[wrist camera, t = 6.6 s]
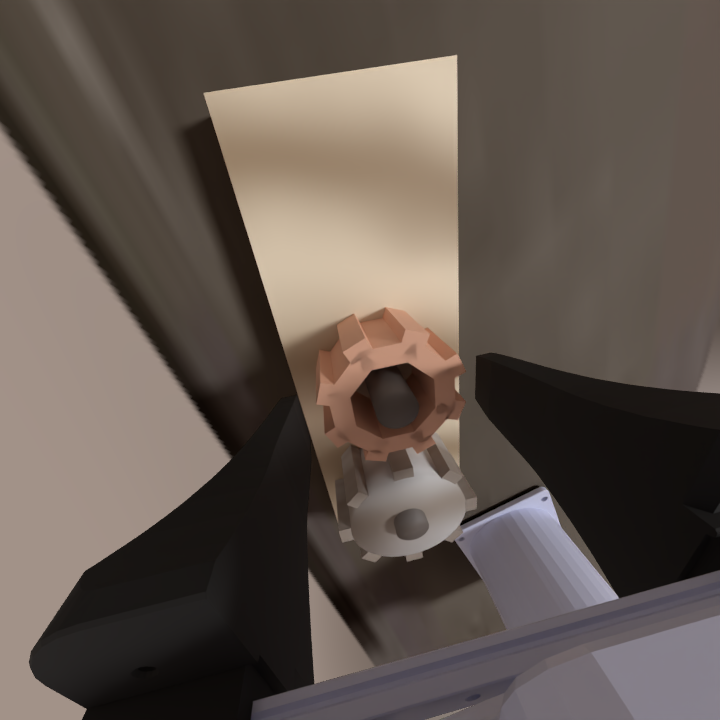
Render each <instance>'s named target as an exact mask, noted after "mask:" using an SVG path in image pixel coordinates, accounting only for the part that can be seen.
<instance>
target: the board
mask: <svg viewBox="0 0 720 720" xmlns="http://www.w3.org/2000/svg"><path fill="white" fill-rule="evenodd" d="M204 96H205V99H206V102H207V106H208V109H209V112H210V115H211V118H212V122H213V125H214V128H215V131H216V134H217V138H218V141H219V144H220V147H221V150H222V154H223V157H224V160H225V163H226V166H227V170H228V173H229V176H230V179H231V182H232V186H233V189H234V192H235V195H236V198H237V202H238V205H239V208H240V211H241V214H242V218H243V221H244V224H245V227H246V230H247V234H248V237H249V240H250V243H251V246H252V250H253V253H254V256H255V259H256V262H257V266H258V269H259V272H260V275H261V278H262V282H263V285H264V288H265V291H266V294H267V298H268V301H269V304H270V307H271V310H272V314H273V317H274V320H275V323H276V326H277V330H278V333H279V336H280V339H281V342H282V346H283V349H284V352H285V355H286V358H287V362H288V365H289V368H290V371H291V374H292V378H293V381H294V384H295V387H296V390H297V394H298V397H299V400H300V403H301V406H302V410H303V413H304V416H305V419H306V422H307V426H308V429H309V432H310V435H311V438H312V442H313V445H314V448H315V451H316V454H317V458H318V461H319V464H320V467H321V470H322V474H323V477H324V480H325V483H326V486H327V489H328V493H329V496H330V499H331V502H332V505H333V509H334V512H335V515H336V518H337V521H338V527H339V533H340V536H341V540H342V543H343V542H347V541H351V540H355V542H356V543H357V544H358V545H359V546H360V550H361V558H362V559H365V560H369V561H372V562H376V561H377V560H378V559H379V558H380V557H381V556H388V557H397V556H405V557H406V560H407V562H408V561H412V560H416V559H420V558H423V554H422V551H424V550H427V549H429V548H431V547H433V546H435V545H437V544H439V543H440V542H442V541H443V540H446V541H449V542H453V541H454V540H455V539H456V538H458V537H459V536H460V535H461V534H462V533H463V531H462V529H461V527H460V523H461V521H462V519H463V517H464V515H465V512H466V511H470V510H474V509H476V507H477V496H476V495H475V493H474V491H473V490H472V488H471V486H470V485H469V483H468V481H467V480H466V478H465V476H464V475H463V473H462V471H461V470H460V468H459V419H458V420H452V419H447V420H446V421H445V422H444V423H443V424H442V425H441V426H440V427H439V428H438V430H437V431H436V432H435V433H434V434H433V435H432V438H433V439H434V441H435V443H436V444H434V445H433V446H431V447H429V448H427V449H426V450H424V451H422V452H420V453H419V454H417V453H416V451H415V450H414V449H413V447H411V448H407V449H403V450H398V451H394V452H390V453H389V454H388V457H387V460H386V462H385V461H370V460H365V456H364V451H363V449H362V448H360V447H358V446H356V445H354V444H351V443H349V442H347V443H345V444H343V445H342V446H340V447H338V448H337V447H336V446H335V445H334V444H333V442H332V441H331V440H330V439H329V438H328V437H327V436H326V435H325V432H324V411H323V405H316V365H317V360H318V354H319V350H324V351H331V350H332V348H333V347H334V345H335V344H336V342H337V341H338V340H339V333H338V329H337V324H339V323H340V322H342V321H343V320H345V319H346V318H348V317H349V316H351V315H352V314H355V316H356V317H357V319H358V320H359V322H364V321H369V320H374V319H379V318H383V314H384V310H385V307H388V308H393V309H398V310H403V311H405V312H406V313H408V314H409V315H410V316H411V317H412V318H413V319H414V320H415V321H416V322H417V323H418V324H420V325H421V326H422V327H423V328H424V329H425V328H427V327H428V328H429V329H430V330H431V331H432V332H433V333H435V334H436V335H437V336H438V337H439V338H440V339H441V340H442V341H444V342H445V343H446V344H447V345H448V346H449V347H450V348H452V349H453V350H454V351H455V352H456V353H457V354H458V356H459V311H458V139H457V55H455V56H448V57H441V58H435V59H428V60H421V61H415V62H408V63H401V64H395V65H388V66H381V67H375V68H368V69H361V70H354V71H348V72H341V73H334V74H328V75H321V76H314V77H308V78H301V79H294V80H288V81H281V82H274V83H267V84H261V85H254V86H247V87H241V88H234V89H227V90H221V91H214V92H207V93H204ZM411 373H412V367H411V364H409V363H408V362H407V363H403V364H398V365H394V366H389V367H384V368H380V369H375V370H371V372H370V373H369V374H368V375H367V377H366V378H365V379H364V381H363V382H362V383H361V385H360V386H359V387H358V388H357V390H356V391H357V392H359V393H361V394H362V395H364V396H366V397H368V398H371V401H372V404H373V407H374V410H375V413H376V416H377V419H378V421H379V422H380V424H382V425H383V426H384V427H387V428H391V429H398V428H403V427H405V426H407V425H409V424H410V423H411V422H413V421H414V420H415V418H416V417H417V415H418V412H419V403H418V401H417V399H416V397H415V396H414V394H413V392H412V391H411V389H410V387H409V386H408V384H407V382H406V379H407V378H408V377H409V376H410V375H411ZM455 390H456V391H457V392H458V393H459V376H458V377H456V378H455Z"/></svg>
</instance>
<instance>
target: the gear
mask: <svg viewBox="0 0 720 720" xmlns="http://www.w3.org/2000/svg"><path fill="white" fill-rule="evenodd" d="M337 329H338V333H339V340H338V341H337V342H336V344H335V345H334V347H333V348H332V350H331V351H324V350H319V354H318V360H317V365H316V405H323V411H324V432H325V435H326V436H327V437H328V438H329V439H330V440H331V441H332V442H333V444H334V445H335V446H336V447H337V448H338V447H340V446H342V445H343V444H345V443H347V442H349V443H351V444H354V445H356V446H358V447H360V448H362V449H363V451H364V456H365V460H370V461H385V462H386V460H387V457H388V454H389V453H390V452H394V451H398V450H403V449H407V448H411V447H413V449H414V450H415V451H416V453H417V454H419V453H420V452H422V451H424V450H426V449H427V448H429V447H431V446H433V445H434V444H436V443H435V441H434V439H433V438H432V435H433V434H434V433H435V432H436V431H437V430H438V428H439V427H440V426H441V425H442V424H443V423H444V422H445V421H446V420H447V419H452V420H458V419H459V417H460V414H461V412H462V410H463V408H464V405H465V403H466V401H465V400H464V399H463V398H462V397H461V395H460V394H459V393H458V392H457V391H456V390H455V378H456V377H458V376H460V375H461V374H463V373H465V372H466V370H465V368H464V366H463V364H462V362H461V360H460V358H459V356H458V354H457V353H456V352H455V351H454V350H453V349H452V348H450V347H449V346H448V345H447V344H446V343H445V342H444V341H442V340H441V339H440V338H439V337H438V336H437V335H436V334H435V333H433V332H432V331H431V330H430V329H429V328H428V327H427V328H425V329H424V328H423V327H422V326H421V325H420V324H418V323H417V322H416V321H415V320H414V319H413V318H412V317H411V316H410V315H409V314H408V313H406V312H405V311H403V310H398V309H393V308H388V307H385V310H384V314H383V318H379V319H374V320H369V321H364V322H359V320H358V319H357V317H356V316H355V314H352V315H351V316H349V317H348V318H346V319H345V320H343V321H342V322H340V323H339V324H337ZM407 362H408V363H409V364H411V367H412V373H411V375H410V376H409V377H408V378H407V379H406V382H407V384H408V386H409V387H410V389H411V391H412V392H413V394H414V396H415V397H416V399H417V401H418V403H419V412H418V415H417V417H416V418H415V420H414V421H413V422H411V423H410V424H409V425H407V426H405V427H403V428H398V429H391V428H387V427H384V426H383V425H382V424H380V422H379V421H378V419H377V416H376V413H375V410H374V407H373V404H372V401H371V398H368V397H366V396H364V395H362V394H361V393H359V392H357V391H356V390H357V388H358V387H359V386H360V385H361V383H362V382H363V381H364V379H365V378H366V377H367V375H368V374H369V373H370V372H371V370H375V369H380V368H384V367H389V366H394V365H398V364H403V363H407Z"/></svg>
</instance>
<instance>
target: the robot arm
mask: <svg viewBox="0 0 720 720" xmlns="http://www.w3.org/2000/svg"><path fill="white" fill-rule="evenodd" d="M475 399H476V400H477V402H478V404H479V405H480V407H481V408H482V410H483V411H484V413H485V414H486V416H487V417H488V418H489V420H490V421H491V422H492V423H493V424H494V425H495V426H496V428H497V429H498V430H499V431H500V432H501V433H502V434H503V435H504V437H505V438H506V439H507V440H508V441H509V442H510V443H511V444H512V445H513V446H514V448H515V449H516V450H517V451H518V452H519V453H520V454H521V455H522V456H523V458H524V459H525V460H526V461H527V462H528V463H529V464H530V466H531V467H532V468H533V469H534V470H535V472H536V473H537V474H538V476H539V477H540V478H541V480H542V481H543V483H544V484H545V485H546V487H547V488H548V489H549V491H550V492H551V493H552V495H553V496H554V498H555V499H556V500H557V502H558V503H559V505H560V506H561V508H562V509H563V511H564V512H565V513H566V515H567V516H568V518H569V519H570V521H571V522H572V524H573V525H574V527H575V528H576V530H577V531H578V533H579V534H580V536H581V538H582V539H583V541H584V542H585V544H586V545H587V547H588V548H589V550H590V551H591V553H592V555H593V556H594V558H595V559H596V561H597V563H598V564H599V566H600V568H601V569H602V571H603V573H604V574H605V576H606V578H607V579H608V581H609V583H610V584H611V586H612V588H613V589H614V591H615V592H616V594H617V595H616V594H615V592H614V591H613V590H612V589H611V588H610V586H609V585H608V584H607V583H606V581H605V580H604V579H603V578H602V577H601V575H600V574H599V573H598V572H597V571H596V569H595V568H594V567H593V566H592V564H591V563H590V562H589V561H588V560H587V558H586V557H585V556H584V555H583V554H582V552H581V551H580V550H579V549H578V547H577V546H576V545H575V544H574V543H573V541H572V540H571V539H570V538H569V537H568V535H567V534H566V533H565V532H564V530H563V529H562V528H561V526H560V523H559V520H558V517H557V514H556V511H555V508H554V506H553V503H552V500H551V497H550V494H549V492H548V490H547V489H546V488H545V487H539V488H536V489H534V490H532V491H530V492H528V493H526V494H524V495H522V496H520V497H518V498H516V499H514V500H512V501H510V502H508V503H506V504H504V505H502V506H500V507H498V508H496V509H494V510H492V511H490V512H488V513H486V514H484V515H482V516H480V517H478V518H475V519H473V520H471V521H469V522H467V523H465V524H463V525H461V526H460V527H461V529H462V531H463V533H462V534H461V535H460V536H459V537H458V538H456V539H455V541H456V543H457V544H458V546H459V547H460V549H461V550H462V551H463V553H464V554H465V556H466V557H467V558H468V560H469V561H470V563H471V564H472V565H473V567H474V568H475V570H476V571H477V573H478V574H479V575H480V577H481V578H482V580H483V581H484V583H485V585H486V587H487V589H488V591H489V593H490V595H491V597H492V600H493V602H494V604H495V606H496V608H497V610H498V612H499V614H500V616H501V618H502V620H503V623H504V625H505V627H506V629H507V630H505V631H501V632H498V633H494V634H491V635H487V636H483V637H480V638H476V639H473V640H469V641H466V642H462V643H458V644H455V645H451V646H448V647H444V648H441V649H437V650H434V651H430V652H426V653H423V654H419V655H416V656H412V657H409V658H405V659H401V660H398V661H394V662H391V663H387V664H384V665H380V666H377V667H373V668H370V669H366V670H363V671H359V672H355V673H352V674H348V675H345V676H341V677H337V678H334V679H330V680H327V681H323V682H320V683H316V684H314V674H313V657H312V642H311V625H310V605H309V585H308V556H307V512H308V499H309V486H310V472H311V444H310V434H309V431H308V428H307V425H306V422H305V418H304V415H303V412H302V409H301V406H300V402H299V399H298V396H297V395H294V396H289V397H285V398H281V399H280V401H279V402H278V403H277V404H276V406H275V407H274V408H273V410H272V411H271V413H270V414H269V415H268V417H267V418H266V419H265V421H264V422H263V423H262V424H261V426H260V427H259V428H258V430H257V431H256V432H255V433H254V434H253V436H252V437H251V438H250V439H249V440H248V441H247V443H246V444H245V445H244V446H243V447H242V448H241V450H240V451H239V452H238V453H237V454H236V455H235V456H234V457H233V458H232V459H231V460H230V461H229V462H228V463H227V464H226V465H225V466H224V467H223V468H222V469H221V470H220V471H219V472H218V473H217V474H216V475H215V476H214V477H213V478H212V479H211V480H209V481H208V482H207V483H206V484H205V485H204V486H203V487H201V488H200V489H199V490H198V491H197V492H195V493H194V494H193V495H192V496H191V497H190V498H188V499H187V500H186V501H185V502H184V503H182V504H181V505H180V506H179V507H178V508H176V509H175V510H173V511H172V512H171V513H169V514H168V515H167V516H166V517H164V518H163V519H161V520H160V521H159V522H157V523H156V524H155V525H153V526H152V527H151V528H149V529H148V530H147V531H145V532H144V533H142V534H141V535H139V536H138V537H137V538H135V539H133V540H132V541H130V542H129V543H127V544H126V545H125V546H123V547H121V548H120V549H119V550H117V551H115V552H114V553H112V554H111V555H109V556H108V557H106V558H105V559H103V560H102V561H100V562H99V563H97V564H96V565H94V566H93V567H91V568H89V569H88V570H86V571H85V572H84V573H83V575H82V576H81V578H80V579H79V581H78V582H77V584H76V585H75V587H74V588H73V590H72V591H71V593H70V594H69V596H68V597H67V599H66V600H65V602H64V603H63V605H62V606H61V608H60V610H59V611H58V612H57V614H56V615H55V617H54V618H53V620H52V621H51V622H50V624H49V625H48V627H47V629H46V630H45V632H44V633H43V634H42V636H41V638H40V639H39V640H38V642H37V643H36V645H35V646H34V648H33V650H32V651H31V655H30V660H29V664H30V668H31V670H32V672H33V674H34V676H35V678H36V679H38V680H39V681H40V682H41V683H43V684H44V685H45V686H47V687H49V688H51V689H53V690H54V691H56V692H58V693H60V694H61V695H63V696H65V697H67V698H68V699H70V700H72V701H74V702H75V703H77V704H79V705H81V706H83V707H84V708H86V709H87V710H86V712H85V714H84V717H83V719H82V720H425V719H429V718H432V717H435V716H439V715H442V714H445V713H449V712H452V711H456V710H459V709H462V708H466V707H469V706H471V707H469V708H466V709H464V710H462V711H459V712H457V713H455V714H452V715H450V716H447V717H445V718H443V719H440V720H720V394H718V393H702V392H690V391H679V390H668V389H660V388H652V387H644V386H636V385H629V384H622V383H617V382H611V381H605V380H600V379H594V378H590V377H585V376H580V375H576V374H572V373H568V372H563V371H559V370H556V369H552V368H548V367H544V366H541V365H537V364H534V363H530V362H527V361H523V360H520V359H516V358H512V357H509V356H505V355H501V354H496V353H487V354H482V355H478V356H476V388H475Z"/></svg>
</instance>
